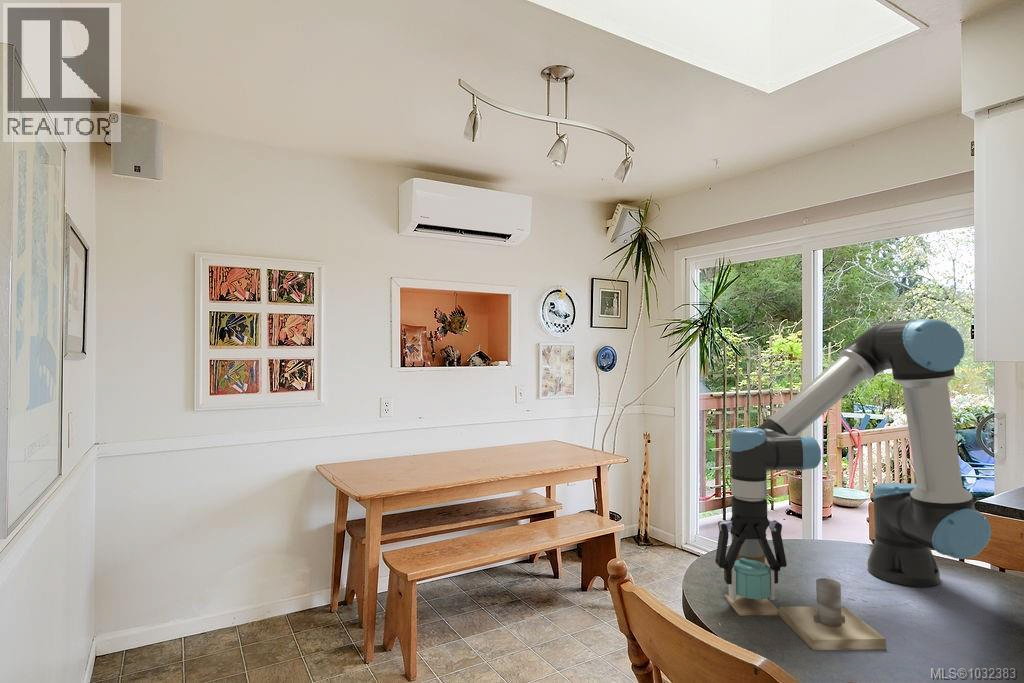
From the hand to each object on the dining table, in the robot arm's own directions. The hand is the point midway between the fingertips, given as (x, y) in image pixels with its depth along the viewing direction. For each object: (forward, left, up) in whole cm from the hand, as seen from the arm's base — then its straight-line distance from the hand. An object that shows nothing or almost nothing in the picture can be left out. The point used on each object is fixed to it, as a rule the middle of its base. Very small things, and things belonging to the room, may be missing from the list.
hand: (751, 597), depth 128 cm
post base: (-11, +12, -2) cm, 16 cm away
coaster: (0, 0, -2) cm, 2 cm away
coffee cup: (-4, -11, -2) cm, 12 cm away
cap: (0, 0, +1) cm, 1 cm away
